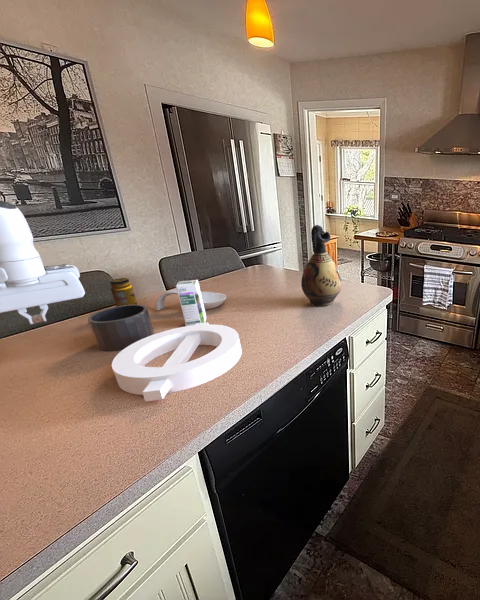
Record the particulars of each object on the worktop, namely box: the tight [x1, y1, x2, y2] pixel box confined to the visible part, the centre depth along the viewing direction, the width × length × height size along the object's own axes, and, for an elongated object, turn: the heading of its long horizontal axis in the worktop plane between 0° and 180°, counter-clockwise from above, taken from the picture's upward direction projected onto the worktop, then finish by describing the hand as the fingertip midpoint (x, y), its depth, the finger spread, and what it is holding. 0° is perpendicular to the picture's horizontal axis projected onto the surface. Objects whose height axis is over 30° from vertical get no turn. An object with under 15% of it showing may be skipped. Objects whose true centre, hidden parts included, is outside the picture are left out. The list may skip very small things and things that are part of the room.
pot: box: [87, 304, 155, 352], centre depth 98 cm, size 14×14×9 cm
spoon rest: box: [155, 288, 227, 311], centre depth 122 cm, size 24×12×7 cm, turn 100°
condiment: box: [109, 277, 139, 307], centre depth 118 cm, size 7×8×12 cm
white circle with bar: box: [111, 321, 243, 402], centre depth 87 cm, size 28×28×5 cm
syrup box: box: [175, 279, 207, 326], centre depth 109 cm, size 6×6×14 cm
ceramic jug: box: [300, 224, 343, 307], centre depth 125 cm, size 17×15×30 cm
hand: (38, 322), depth 83 cm, fingers closed
